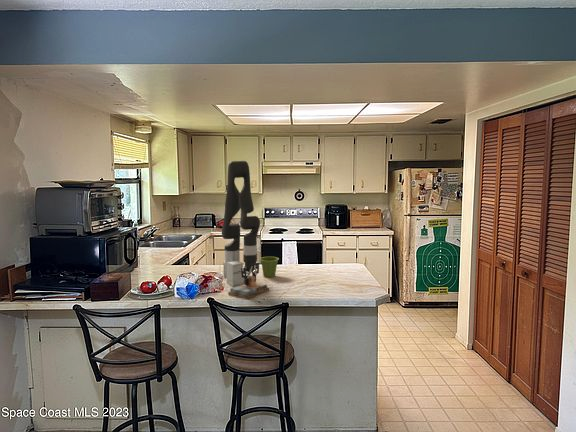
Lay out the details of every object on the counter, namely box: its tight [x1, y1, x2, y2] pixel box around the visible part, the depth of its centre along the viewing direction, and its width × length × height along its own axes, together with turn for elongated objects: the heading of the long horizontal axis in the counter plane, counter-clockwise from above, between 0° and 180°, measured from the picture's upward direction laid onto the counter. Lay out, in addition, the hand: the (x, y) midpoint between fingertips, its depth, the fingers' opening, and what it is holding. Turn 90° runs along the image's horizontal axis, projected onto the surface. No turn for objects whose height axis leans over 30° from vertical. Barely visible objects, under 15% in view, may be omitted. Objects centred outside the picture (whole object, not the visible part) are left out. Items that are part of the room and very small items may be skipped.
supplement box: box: [226, 261, 244, 287], centre depth 232 cm, size 7×7×13 cm
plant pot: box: [259, 256, 280, 278], centre depth 249 cm, size 12×12×11 cm
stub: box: [240, 275, 260, 289], centre depth 216 cm, size 9×4×7 cm, turn 59°
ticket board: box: [227, 284, 270, 300], centre depth 216 cm, size 14×18×4 cm
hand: (250, 283), depth 217 cm, fingers open, 6 cm apart
